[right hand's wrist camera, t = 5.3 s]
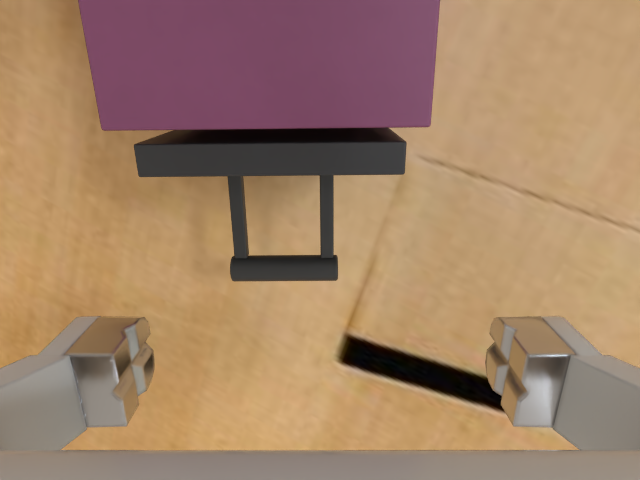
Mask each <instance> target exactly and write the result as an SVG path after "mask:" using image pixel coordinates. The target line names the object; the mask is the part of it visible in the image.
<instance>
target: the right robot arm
mask: <svg viewBox="0 0 640 480" xmlns="http://www.w3.org/2000/svg"><path fill="white" fill-rule="evenodd" d="M149 335H150V329H149V324H148V321H147V320H146V319H145V317H111V316H103V317H101V316H81V317H76V318H75V319H74V320H73V321H72V322H71V323H70V324H69V325H68V326H67V327H66V328H65V329H64V330H63V331H62V332H61V333H60V334H59V335H58V336H57V337H56V338H55V339H54V340H53V341H52V342H51V343H50V344H49V345H48V346H46V347H45V348H44V349H43V350H42V351H41V352H40V353H39V354H38V355H30V356H28V357H25V358H23V359H21V360H18V361H16V362H14V363H11V364H9V365H7V366H4V367H2V368H0V480H640V368H638V367H635V366H633V365H631V364H629V363H626V362H624V361H622V360H619V359H617V358H615V357H612V356H610V355H602V354H601V353H600V352H599V351H598V350H597V349H596V348H595V347H594V346H593V345H592V344H590V343H589V342H588V341H587V340H586V339H585V338H584V337H583V336H582V335H581V334H580V333H579V332H578V331H577V330H576V329H575V328H574V327H573V326H572V325H571V324H570V323H569V322H568V321H567V320H566V319H565V318H563V317H560V316H542V317H541V316H540V317H499V318H494V319H493V321H492V324H491V328H490V335H491V337H492V338H493V340H494V341H495V342H494V343H493V344H492V345H491V346H490V347H489V348H488V349H487V354H486V362H485V363H486V374H487V377H488V380H489V383H490V385H491V387H492V389H493V391H495V392H497V393H498V394H500V395H501V396H502V401H501V405H502V407H503V409H504V411H505V412H506V414H507V416H508V418H509V420H510V421H511V423H512V425H513V426H521V427H553V429H554V430H555V431H556V432H557V433H559V434H560V435H561V436H563V437H564V438H565V439H566V440H568V441H569V442H570V443H572V444H573V445H574V446H576V447H577V448H578V449H579V450H61V449H62V448H63V447H65V446H66V445H67V444H68V443H70V442H71V441H72V440H74V439H75V438H76V437H78V436H79V435H80V434H81V433H83V432H84V431H85V430H87V427H118V426H127V425H128V423H129V421H130V420H131V418H132V416H133V414H134V412H135V411H136V409H137V407H138V405H139V401H138V396H139V395H140V394H142V393H143V392H145V391H146V390H147V389H148V387H149V385H150V383H151V381H152V377H153V372H154V353H153V349H152V348H151V347H150V346H149V345H148V344H147V343H146V342H145V341H146V340H147V338H148V337H149Z"/></svg>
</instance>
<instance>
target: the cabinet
mask: <svg viewBox="0 0 640 480" xmlns="http://www.w3.org/2000/svg"><path fill="white" fill-rule="evenodd" d="M78 2H79V8H80V13H81V19H82V24H83V30H84V35H85V41H86V46H87V52H88V57H89V63H90V68H91V74H92V79H93V85H94V90H95V95H96V101H97V106H98V112H99V117H100V123H101V128H102V130H104V131H115V130H207V129H300V128H392V127H429V126H430V125H431V112H432V99H433V86H434V73H435V59H436V46H437V33H438V19H439V6H440V0H78Z"/></svg>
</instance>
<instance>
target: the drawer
mask: <svg viewBox="0 0 640 480" xmlns="http://www.w3.org/2000/svg"><path fill="white" fill-rule="evenodd" d="M134 150H135V156H136V162H137V169H138V175H139V177H193V176H228V186H229V197H230V209H231V220H232V232H233V243H234V255H235V256H233V257H232V259H231V264H230V274H231V279H232V281H336V280H337V279H338V257H337V255H333V175H402V174H404V173H405V158H406V141H404V140H403V139H402V138H401V137H399V136H398V135H397V134H396V133H394V132H393V131H392V130H391V129H389V128H300V129H207V130H173V131H170V132H168V133H165V134H162V135H159V136H156V137H154V138H151V139H148V140H145V141H142V142H140V143H137V144H134ZM297 175H320V230H321V255H267V256H248V254H249V249H248V236H247V223H246V209H245V196H244V182H243V176H297Z"/></svg>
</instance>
